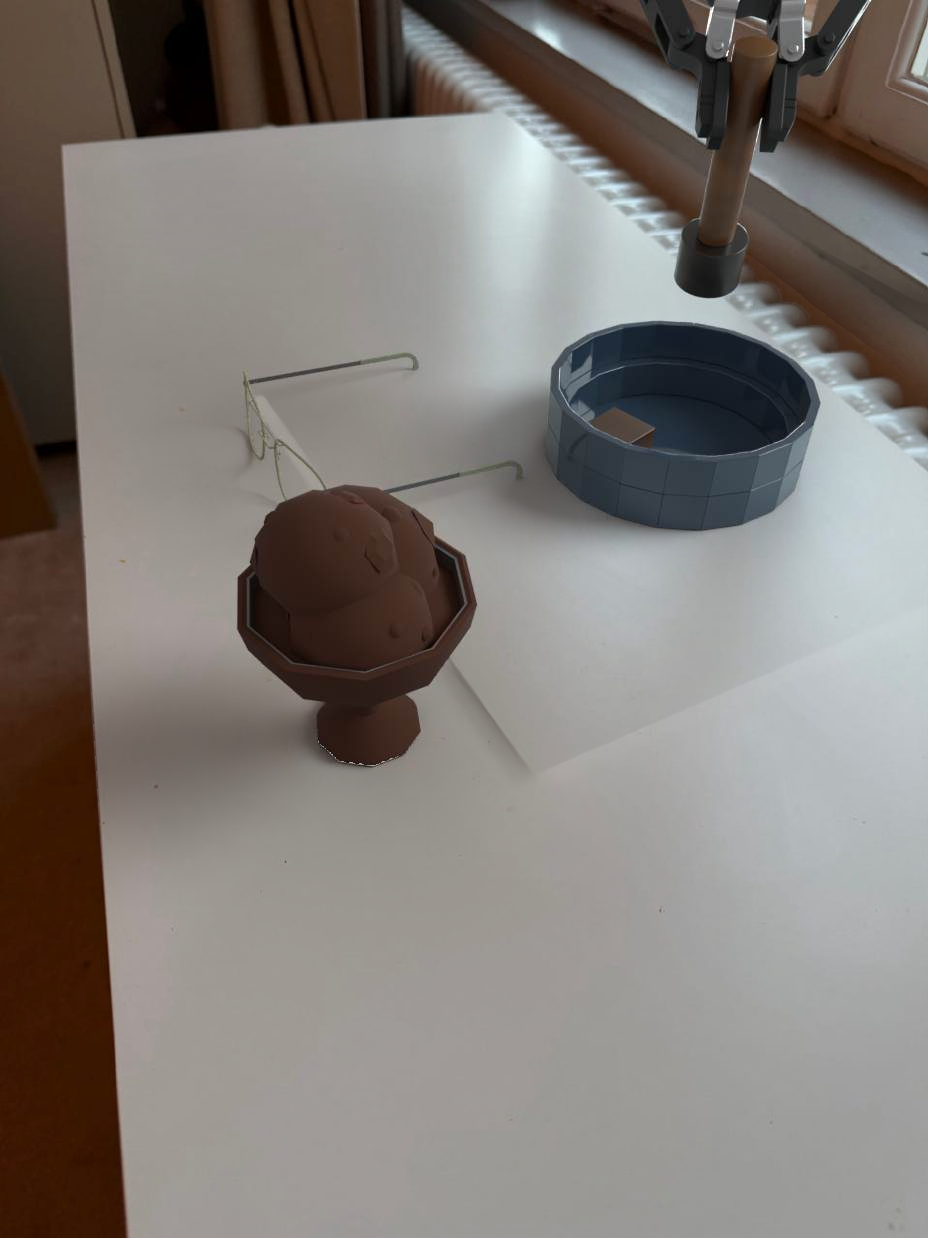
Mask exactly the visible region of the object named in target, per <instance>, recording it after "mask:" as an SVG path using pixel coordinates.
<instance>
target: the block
mask: <svg viewBox="0 0 928 1238" xmlns="http://www.w3.org/2000/svg"><path fill="white" fill-rule="evenodd" d="M588 423H589V424H590V425H591V426H592V427H594V428H595V429H597V430H600V431H602V432H604V433H606V434H608V435H610V436H613V437H615V438H617V439H619V440H621V441H624V442H626V443H628V444H632V445H636V446H640V447H644V448H648V449H652V446H653V440H654V434H655V428H654V427H652V426H650V425H648V424H646V423H644V422H642V421H641V420H639V419H637V418H635V417H633V416H631V415H629V414H627V413H625V412H623V411H621V410H619V409H617V408H615V407H613V408H611V409H610V410H608V411H606V412H604V413H603V414H601V415H599V416H597V417H596V418H594V419H592V420H590V421H589V422H588Z"/></svg>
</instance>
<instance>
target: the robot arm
mask: <svg viewBox="0 0 928 1238" xmlns="http://www.w3.org/2000/svg"><path fill="white" fill-rule="evenodd" d="M638 1H639V3H640V6H641V8H642V11H643V13H644V15H645V18H646V20H647V21H648V24H649V26H650V28H651V31H652V33H653V36H654V38H655V40H656V42H657V45H658V47H659V49H660V52H661V54H662V56H663V59H664V61H665V63H666V66H667V67H668V68H669V69H671V70H672V71H677V72H679V71H682V70H686V71H689V72H691V73H693V74H694V76H695V78H697V82H698V87H697V97H696V99H697V100H696V110H695V122H694V130H695V134H696V136H697V138H698V139H705V150H706V151H713V150H719V149H720V147H721V144H722V141H723V138H724V135H725V129H726V120H727V108H728V97H729V85H730V74H731V61H728V55H729V54H728V53H729V50H730V47H731V42H732V38H733V37H732V36H733V31H734V27H735V21H736V20H740V19H744V18H748V17H749V18H750V17H753V18H756V19H759V20H763V21H765V28H766V30H765V31H766V38H769V39H771V40H773V41H774V42H775V43H776V44H777V46H778V51H777V55H776V60H775V64H774V68H773V72H772V77H771V81H770V85H769V89H768V94H767V98H766V102H765V107H764V111H763V115H762V120H761V124H760V135H759V136H760V137H759V148H758V149H759V153H767V154H769V153H770V154H774V153H775V151H776V148H777V146H778V144H779V142H780V143H785V141H786V139H787V137H788V135H789V133H790V131H791V129H792V127H793V125H794V123H795V121H796V115H797V103H798V101H797V100H798V91H799V80H800V78H802V77H804V76H807V75H809V76H811V77H814V78H818V77H821V76H822V75H824V74H825V73H826V72H827V70H828V69H829V67H830V66H831V64H832V62H833V61H834V59H835V58H836V56H837V55H838V53H839V52H840V50H841V49H842V47H843V45H844V44H845V42H846V41H847V39H848V37H849V36H850V34H851V33H852V31H853V30H854V28H855V26H856V25H857V23H858V22H859V21H860V19H861V17H862V16H863V14H864V12H865V11H866V9H867V8H868V6H869V5H870V3H871V1H872V0H838V2H837V3H836V5H835V6H834V9H833V10H832V11H831V12H830V14H829V16H828V17H827V19H826V21H825V22H824V24H823V25H822V27H821V28H820V29H819V32H818V33H817V34H814V35H811V36H808V37H805V25H804V24H805V20H804V19H805V18H804V17H805V12H806V3H807V0H705V2H706V4H707V5H708V6H709V8H710V10H709V16H708V21H707V25H706V31H705V34H703V33H701V32H698V31H696V28H695V25H694V24H693V21H692V18H691V16H690V14H689V12H688V10H687V7H686V6H685V5H686V4H685V3H684V1H683V0H638Z"/></svg>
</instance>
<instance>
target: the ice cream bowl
mask: <svg viewBox="0 0 928 1238" xmlns="http://www.w3.org/2000/svg"><path fill="white" fill-rule="evenodd" d="M253 541H254V545H253V548H252V552H251V556H250V559H249V565H248V566H247V567H246V568H245V569H244V570H243V571H242V572H241V573H240V574H239V575H238V576H237V581H236V582H237V589H236V591H237V593H236V602H237V603H236V609H237V610H236V630H237V632H238V634H239V637H240V638H241V639H242V641H243V643H244V645H245V648H246V649H247V651H248V652H249V653H250V654H251V655H252V656H253V657H254V658H256V660H258V661H259V662H260V664H262V665H263V666H264V667H265V668H266V669H267V670H268V671H270V672H271V673H272V674H273V675H274V676H276V677H277V678H278V679H279V680H280V681H282V682H283V683H284V684H285V685H286V686H287V687H288V688H289V689H291V690H292V691H293V692H294V693H295V694H296V695H298V696H299V697H300V698H301V699H302V700H306V701H311V702H312V701H313V702H319V703H320V702H321V703H323V705H322V706H321V707H320V708H319V709H318V711H317V714H316V717H317V718H316V717H315V720H316V719H317V724H316V734H317V733H318V739H317V742H318V741H319V744H321V745H322V746H324V748H326V750H328V751H329V752H331V754H333V756H334V757H336V759H338V760H339V761H344V762H346V763H349V762H353V763H355V764H359V763H362V764H364V765H376V764H379V763H381V762H382V761H387V760H389V759H390V758H395V757H397V756H400V757H402V755H403V754H405V755H406V753H407V752H408V750H409V749H410V748H409V746H410V747H412V745H411V744H413V743H414V742H415V741H416V739H417V738H418V736H419V735H420V733H421V731H422V729H421V725H420V724H421V723H420V718H419V712H418V706H417V704H416V703H415V701H414V699H413V698H411V697H410V696H408V694H410V693H412V692H415V691H417V690H421V689H423V688H426V687H428V686H430V685H431V683H432V682H433V681H434V679H435V678H436V676H437V675H438V673H439V672H440V671H441V670H442V668H443V667H444V665H445V664H446V663H447V662H448V660H449V659H450V657H451V655H452V654H453V653H454V651H455V650H456V649H457V647H458V646H459V644H460V643H461V641H462V640H463V639H464V638H465V636H466V635H467V633H468V631H469V630H470V628H471V627H472V624H473V620H474V617H475V613H476V611H477V607H478V602H477V599H476V598H477V597H476V594H475V590H474V585H473V582H472V577H471V573H470V569H469V565H468V561H467V557H466V556H467V555H466V554H464V553H463V552H462V551H460V550H458V549H457V548H455V547H454V546H452V545H450V544H449V543H447V542H446V541H445V540H443V539H442V538H440V537H439V536H436V535H435V529H434V522H433V521H431V520H430V519H429V518H428V517H426V516H425V515H424V514H423V513H421V512H420V511H419V510H418V509H416V508H415V507H414V506H413V507H411V506H410V505H409V504H407V503H405V502H403V500H401V499H398V498H397V497H395V496H393V495H392V494H391V493H389V494H388V493H387V492H385V491H382V489H380V488H378V487H375V486H374V487H373V486H364V485H355V484H346V483H345V484H342V485H339V486H334V487H330V488H327V489H326V490H324V489H311V490H308V491H306V492H304V493H301V494H299V495H296V496H294V497H291V498H289V499H288V500H286V501H285V500H283V501H282V502H279V503H278V504H277V506H276V507H275V509H274V510H271V511H269V512H268V513H267V514H265V517H264V519H263V525H262V526H261V528H260V529H259V531H258V532H257V534H256V535H255V537H254V540H253ZM317 730H318V731H317ZM416 737H417V738H416ZM413 741H414V742H413ZM319 744H318V745H319ZM324 748H323V749H324ZM408 748H409V749H408ZM326 750H325V751H326ZM406 751H407V752H406ZM333 756H332V757H333ZM403 756H404V755H403ZM334 757H333V758H334ZM336 759H335V760H336ZM395 759H396V758H395ZM387 762H388V761H387ZM346 763H345V764H346Z"/></svg>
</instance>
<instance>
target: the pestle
mask: <svg viewBox="0 0 928 1238" xmlns="http://www.w3.org/2000/svg"><path fill="white" fill-rule="evenodd" d="M777 51H778V46H777V44H776V43H775V42H774V41H773V40H771V39H769V38H767V36H766V37H765V36H761V35H745V36H742V37H740V38H738V39H736V41H735V42H734V43H733V48H732V53H731V58H730V62H731V74H730V85H729V97H728V108H727V120H726V129H725V135H724V138H723V141H722V144H721V147H720V149H719V150H712V155H711V160H710V163H709V170H708V175H707V179H706V183H705V184H706V185H705V190H704V194H703V200H702V205H701V211H700V214H699V217H698V218H695V219H692V220H690V221H689V222H687V223H686V224H685V225H684V226H683V228H682V230H681V233H680V240H679V244H678V250H677V254H676V255H677V256H676V260H675V261H676V262H675V267H674V271H673V278H674V281H675V284H676V285H677V286H678V288H679V289H681V290H682V291H683V292H685V293H687V294H688V295H690V296H693V297H697V298H700V299H717V298H722V297H725V296H727V295H728V296H729V295H730V294H732V293H733V292H734V291H735V290H736V288H737V287H738V285H739V283H740V279H741V275H742V271H743V266H744V264H745V259H746V255H747V250H748V247H749V242H750V237H749V233H748V232H747V230H746V229H745V227H744V226H742V225H741V224H740V223H738V222H739V218H740V213H741V210H742V205H743V201H744V197H745V193H746V188H747V183H748V179H749V176H750V171H751V166H752V162H753V158H754V153H755V150H756V145H757V141H758V136H759V132H760V129H761V124H762V115H763V111H764V107H765V102H766V98H767V94H768V89H769V85H770V81H771V77H772V72H773V68H774V64H775V60H776V55H777Z"/></svg>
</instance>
